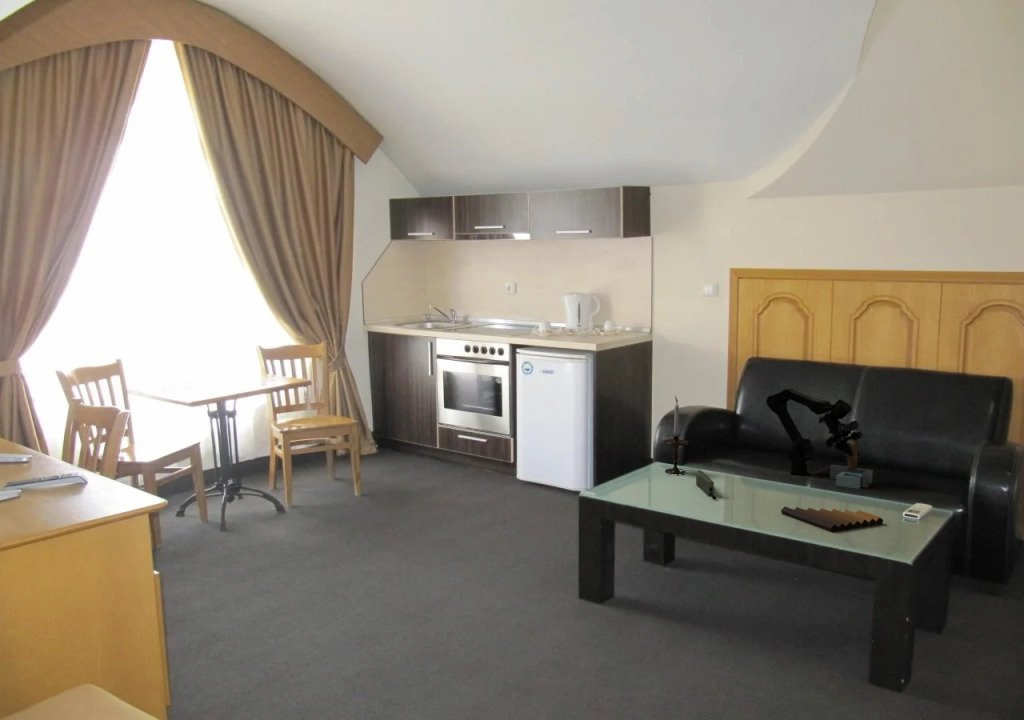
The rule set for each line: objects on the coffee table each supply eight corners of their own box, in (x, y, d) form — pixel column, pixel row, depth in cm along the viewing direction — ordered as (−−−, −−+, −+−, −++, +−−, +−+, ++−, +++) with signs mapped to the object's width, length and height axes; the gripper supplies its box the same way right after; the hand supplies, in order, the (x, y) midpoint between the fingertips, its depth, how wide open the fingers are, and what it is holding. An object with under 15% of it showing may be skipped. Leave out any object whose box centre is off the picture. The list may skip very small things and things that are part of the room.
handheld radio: (703, 485, 369) (719, 501, 344) (695, 485, 369) (710, 501, 344) (703, 470, 368) (718, 484, 343) (695, 470, 368) (710, 484, 343)
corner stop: (825, 482, 374) (825, 468, 373) (831, 478, 382) (831, 464, 381) (866, 488, 364) (867, 474, 363) (872, 483, 372) (872, 470, 371)
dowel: (847, 470, 365) (849, 440, 364) (847, 469, 369) (849, 439, 367) (856, 471, 364) (858, 441, 363) (856, 469, 367) (858, 439, 366)
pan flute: (780, 515, 324) (830, 534, 302) (781, 506, 324) (830, 524, 301) (831, 508, 335) (883, 525, 312) (831, 499, 334) (883, 516, 312)
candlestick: (659, 473, 389) (660, 396, 386) (669, 469, 398) (670, 393, 395) (681, 476, 383) (683, 398, 380) (691, 472, 392) (693, 395, 389)
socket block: (835, 485, 369) (836, 475, 369) (842, 481, 377) (842, 471, 376) (859, 489, 363) (859, 478, 363) (865, 484, 371) (865, 474, 371)
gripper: (832, 416, 362) (854, 447, 354) (860, 412, 372) (882, 442, 364) (816, 431, 369) (836, 462, 361) (843, 427, 380) (864, 457, 372)
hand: (855, 455), depth 365 cm, fingers closed on dowel, 4 cm apart
